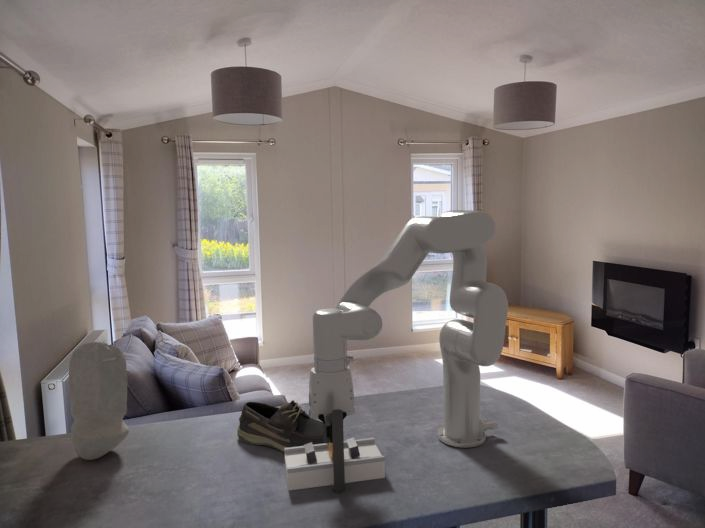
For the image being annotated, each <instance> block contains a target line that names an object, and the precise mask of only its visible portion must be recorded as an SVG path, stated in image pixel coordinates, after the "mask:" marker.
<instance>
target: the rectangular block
mask: <svg viewBox="0 0 705 528" xmlns="http://www.w3.org/2000/svg"><path fill="white" fill-rule="evenodd" d="M328 451H329V454H330V457H331V459H333V443H330V442H329V448H328Z"/></svg>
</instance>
